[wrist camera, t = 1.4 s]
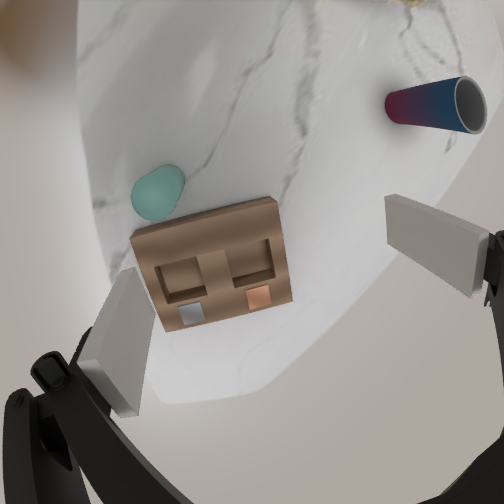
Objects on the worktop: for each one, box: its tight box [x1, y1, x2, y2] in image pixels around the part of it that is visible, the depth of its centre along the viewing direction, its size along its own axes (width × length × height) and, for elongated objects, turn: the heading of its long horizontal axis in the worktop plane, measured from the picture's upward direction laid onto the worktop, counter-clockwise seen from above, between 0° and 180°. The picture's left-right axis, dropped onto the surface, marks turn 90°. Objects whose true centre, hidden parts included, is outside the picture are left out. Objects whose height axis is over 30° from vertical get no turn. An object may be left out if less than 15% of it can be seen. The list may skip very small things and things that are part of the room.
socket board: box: [130, 196, 293, 332], centre depth 37 cm, size 14×18×4 cm
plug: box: [131, 165, 185, 221], centre depth 29 cm, size 4×4×12 cm
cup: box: [385, 76, 487, 134], centre depth 28 cm, size 7×7×15 cm
